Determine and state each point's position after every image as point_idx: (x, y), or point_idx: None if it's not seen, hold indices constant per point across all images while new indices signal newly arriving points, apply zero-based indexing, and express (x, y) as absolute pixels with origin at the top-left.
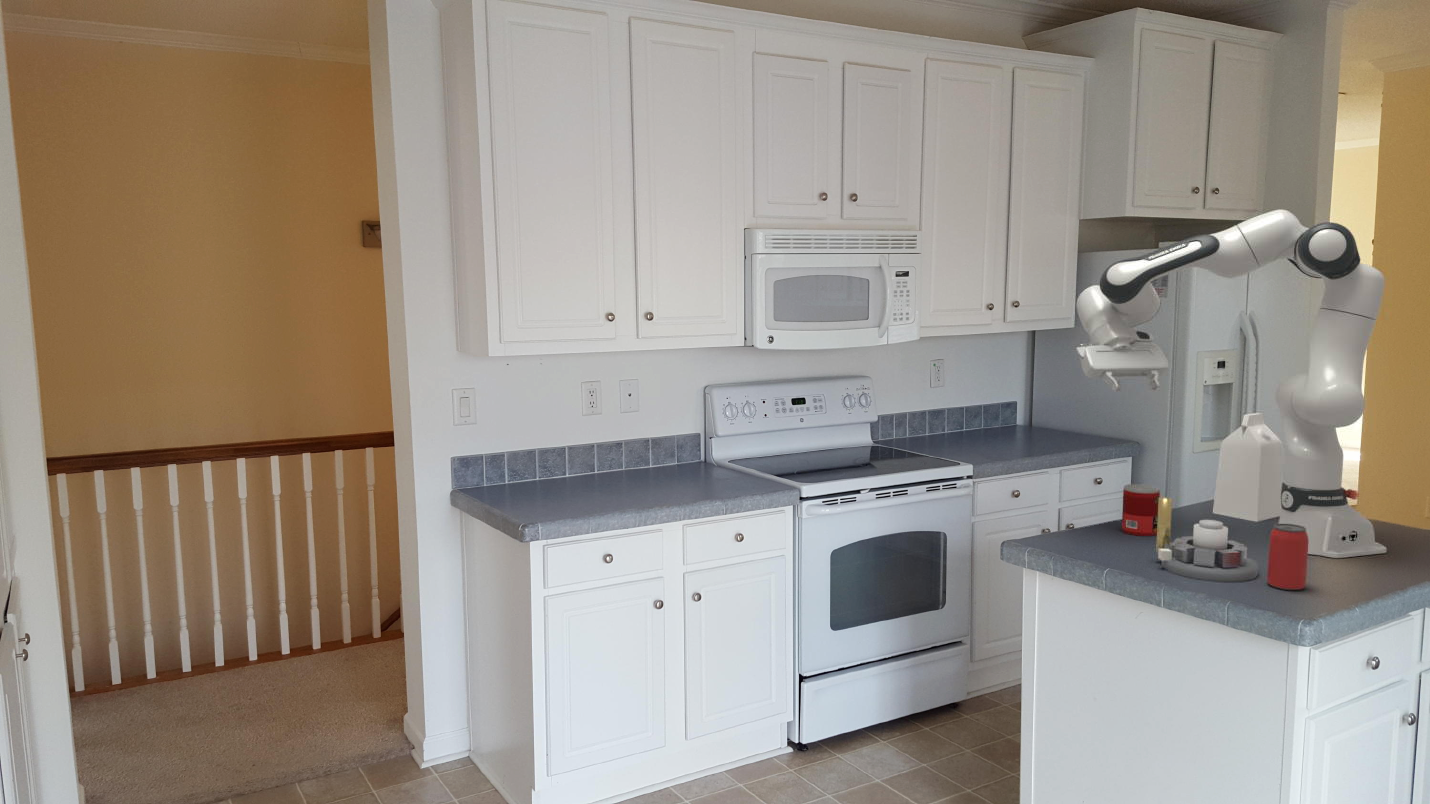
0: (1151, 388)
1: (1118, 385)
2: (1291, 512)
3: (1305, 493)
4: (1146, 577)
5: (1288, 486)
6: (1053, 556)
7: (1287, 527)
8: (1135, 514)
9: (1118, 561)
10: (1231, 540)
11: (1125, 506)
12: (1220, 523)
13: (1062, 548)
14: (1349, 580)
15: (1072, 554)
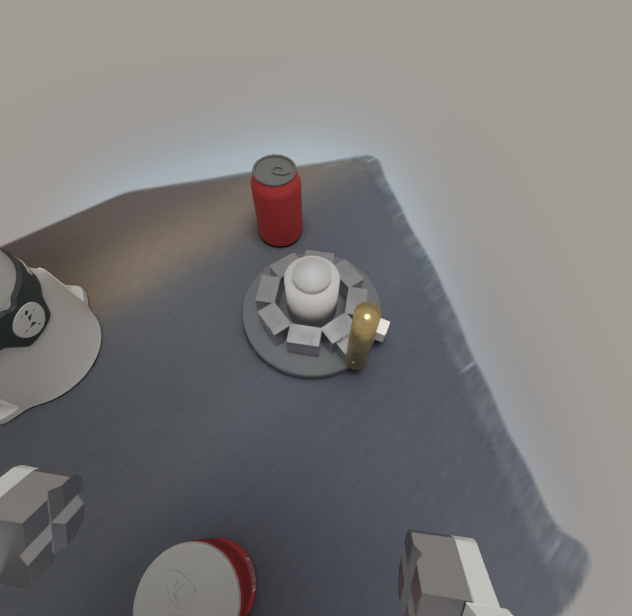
0: (76, 513)
1: (451, 542)
2: (49, 320)
3: (26, 273)
4: (432, 314)
5: (5, 307)
6: (525, 470)
7: (272, 175)
8: (245, 564)
9: (421, 398)
10: (257, 300)
11: (247, 605)
12: (303, 262)
13: (478, 519)
14: (183, 223)
15: (480, 469)
